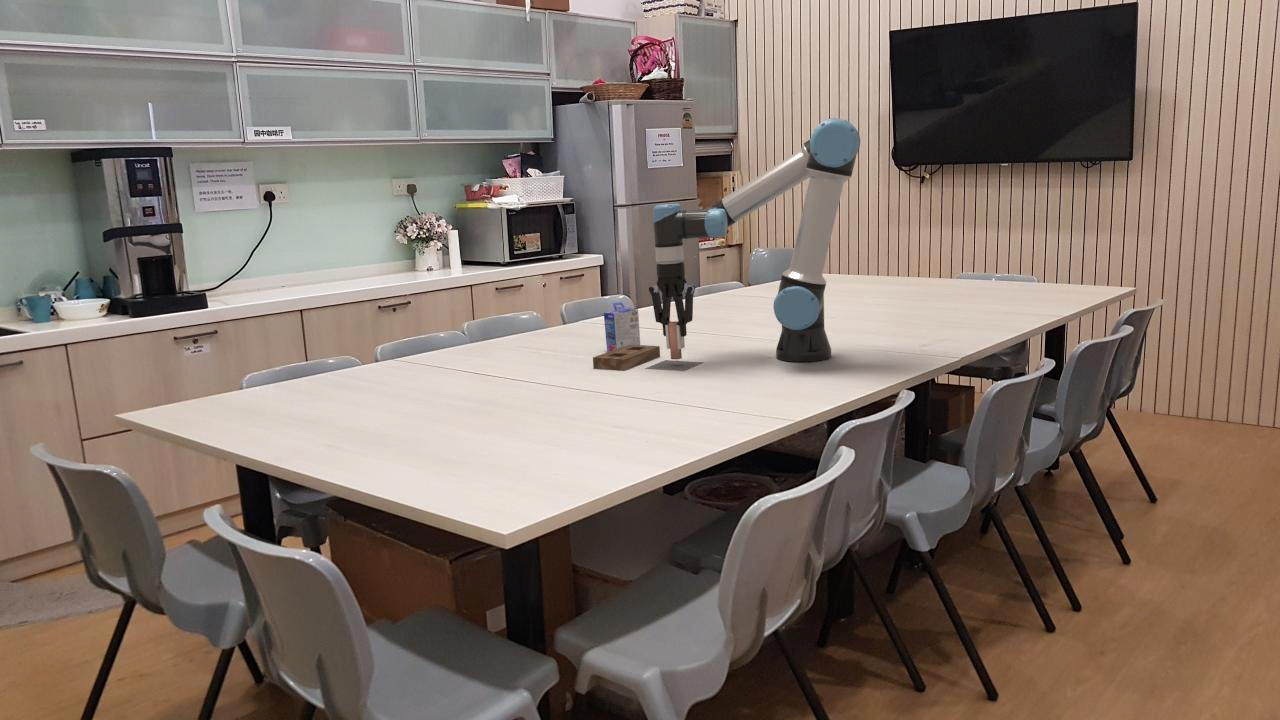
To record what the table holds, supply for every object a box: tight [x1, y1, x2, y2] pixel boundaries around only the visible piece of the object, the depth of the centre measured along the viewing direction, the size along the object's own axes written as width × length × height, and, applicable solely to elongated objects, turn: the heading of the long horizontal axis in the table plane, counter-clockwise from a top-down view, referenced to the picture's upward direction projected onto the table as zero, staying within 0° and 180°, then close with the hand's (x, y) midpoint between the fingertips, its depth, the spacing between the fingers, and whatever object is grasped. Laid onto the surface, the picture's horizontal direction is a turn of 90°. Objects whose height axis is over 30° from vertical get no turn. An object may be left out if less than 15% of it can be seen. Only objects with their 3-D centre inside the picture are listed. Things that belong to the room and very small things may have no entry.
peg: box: [669, 320, 683, 360], centre depth 271 cm, size 3×3×10 cm
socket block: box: [592, 344, 661, 372], centre depth 279 cm, size 10×20×4 cm, turn 150°
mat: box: [644, 359, 704, 372], centre depth 272 cm, size 12×12×1 cm
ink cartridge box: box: [603, 301, 641, 353], centre depth 300 cm, size 10×6×14 cm, turn 132°
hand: (675, 347), depth 271 cm, fingers closed on peg, 3 cm apart
